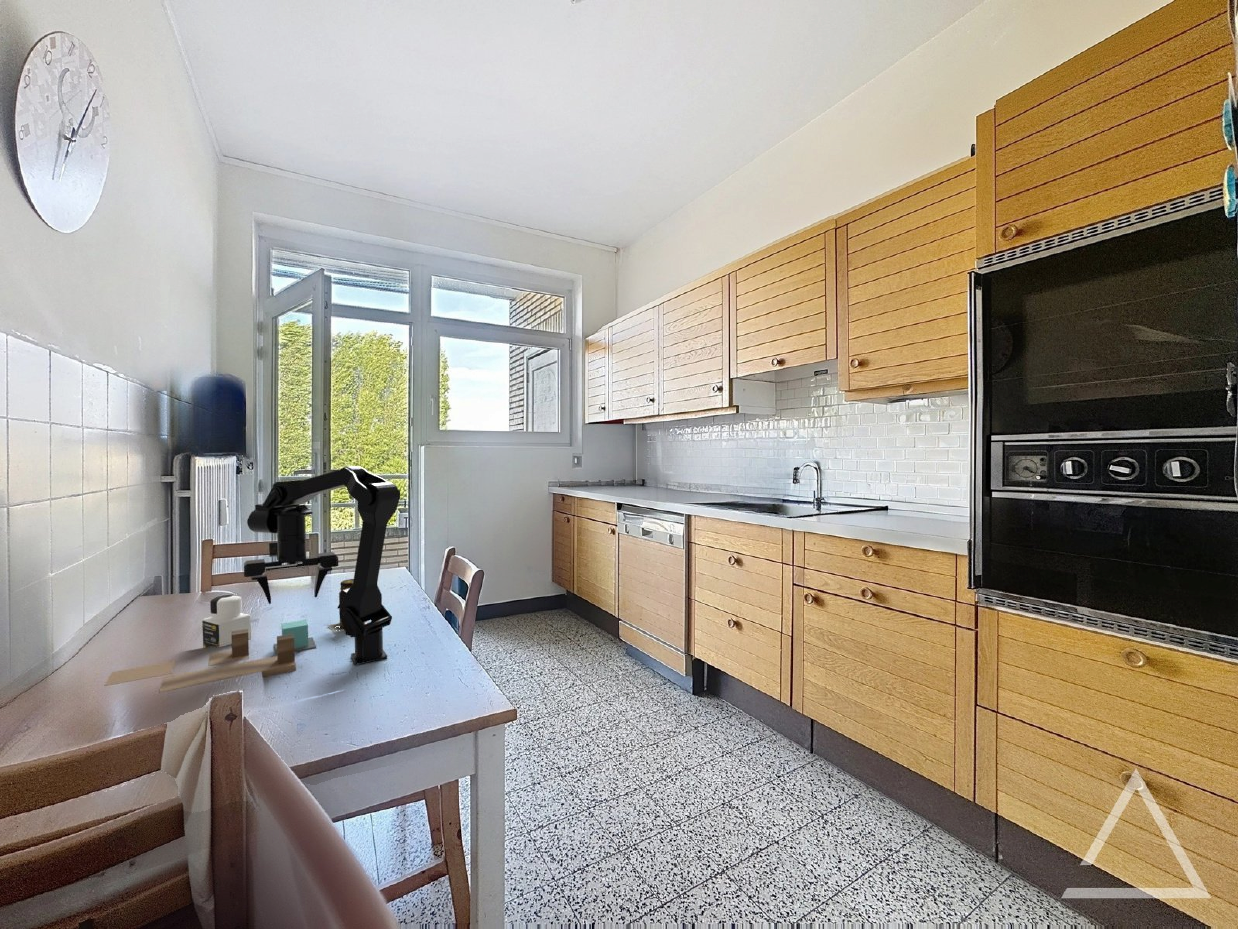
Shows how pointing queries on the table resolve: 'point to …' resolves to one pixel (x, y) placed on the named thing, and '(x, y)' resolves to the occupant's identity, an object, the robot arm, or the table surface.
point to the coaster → (310, 646)
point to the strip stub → (233, 649)
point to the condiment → (344, 585)
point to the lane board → (140, 673)
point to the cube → (297, 632)
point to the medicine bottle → (224, 621)
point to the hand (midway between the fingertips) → (293, 600)
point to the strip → (239, 667)
